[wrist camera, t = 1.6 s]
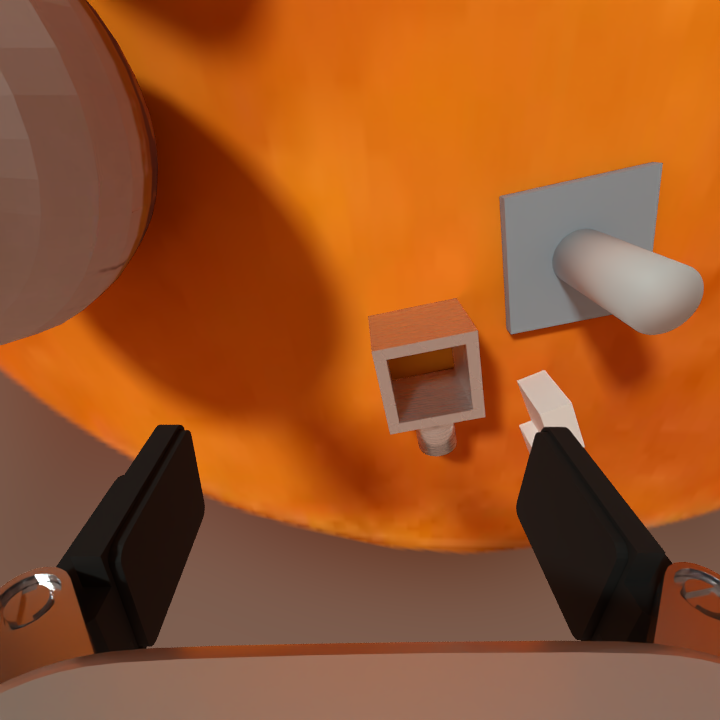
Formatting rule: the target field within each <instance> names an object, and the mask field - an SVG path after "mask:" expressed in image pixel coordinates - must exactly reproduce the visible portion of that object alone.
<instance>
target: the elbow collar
mask: <svg viewBox="0 0 720 720" xmlns="http://www.w3.org/2000/svg"><path fill="white" fill-rule="evenodd" d="M368 319H369V329H370V339H371V350H372V355H373V360H374V364H375V369H376V373H377V377H378V382H379V386H380V391H381V395H382V400H383V404H384V409H385V413H386V418H387V422H388V426H389V431H390V434H395V433H400V432H406V431H411V430H416V433H417V439H418V444H419V448H420V450H421V451H422V452H423V453H425V454H427V455H430V456H442V455H445V454H448V453H450V452H451V451H452V450H454V448H455V447H456V444H457V441H456V433H455V426H454V423H455V422H461V421H466V420H472V419H477V418H483V417H485V407H484V396H483V385H482V373H481V362H480V351H479V340H478V330H477V329H476V327H475V326H474V324H473V323H472V321H471V320H470V318H469V317H468V315H467V313H466V312H465V310H464V309H463V307H462V306H461V304H460V303H459V301H458V300H457V298H455V299H450V300H445V301H440V302H435V303H431V304H426V305H421V306H416V307H411V308H406V309H401V310H397V311H392V312H387V313H382V314H377V315H372V316H368ZM449 347H452V353H453V361H454V368H452V369H447V370H442V371H436V372H431V373H426V374H421V375H416V376H411V377H405V378H400V379H395V380H392V377H391V373H390V368H389V363H388V359H394V358H399V357H404V356H409V355H414V354H419V353H424V352H429V351H434V350H439V349H444V348H449Z"/></svg>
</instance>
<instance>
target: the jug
mask: <svg viewBox="0 0 720 720" xmlns="http://www.w3.org/2000/svg"><path fill="white" fill-rule="evenodd" d="M157 173H158V157H157V148H156V138H155V134H154V130H153V126H152V122H151V117H150V113H149V111H148V108H147V105H146V103H145V100H144V98H143V95H142V92H141V90H140V87H139V85H138V82H137V80H136V77H135V75H134V73H133V71H132V69H131V67H130V66H129V64H128V62H127V60H126V58H125V56H124V54H123V52H122V50H121V49H120V47H119V45H118V43H117V41H116V40H115V39H114V37H113V36H112V34H111V33H110V31H109V30H108V28H107V27H106V25H105V24H104V22H103V21H102V20H101V18H100V17H99V15H98V14H97V12H96V11H95V10H94V9H93V7H92V6H91V5H90V4H89V3H88V2H87V1H86V0H0V345H3V344H7V343H10V342H13V341H16V340H19V339H22V338H25V337H28V336H32V335H35V334H38V333H40V332H43V331H45V330H48V329H50V328H53V327H55V326H58V325H60V324H62V323H64V322H65V321H67V320H68V319H70V318H72V317H73V316H75V315H76V314H78V313H79V312H81V311H82V310H84V309H85V308H86V307H87V306H88V305H90V304H91V303H92V302H93V301H94V300H95V299H97V298H98V297H99V296H100V295H101V294H102V293H103V292H104V291H105V290H106V289H107V288H108V287H109V286H110V285H111V284H112V283H113V282H114V281H115V280H116V279H118V278H119V276H120V275H121V273H122V272H123V270H124V269H125V267H126V266H127V264H128V263H129V261H130V260H131V258H132V256H133V255H134V253H135V251H136V250H137V248H138V246H139V245H140V243H141V241H142V239H143V237H144V235H145V232H146V230H147V228H148V225H149V223H150V220H151V218H152V213H153V208H154V204H155V199H156V194H157Z"/></svg>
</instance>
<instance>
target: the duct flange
mask: <svg viewBox="0 0 720 720" xmlns="http://www.w3.org/2000/svg"><path fill="white" fill-rule="evenodd" d="M662 164H663V163H657V162H651V163H647V164H642V165H638V166H633V167H629V168H624V169H620V170H615V171H611V172H606V173H602V174H597V175H593V176H588V177H584V178H580V179H575V180H571V181H566V182H562V183H557V184H553V185H548V186H544V187H539V188H535V189H530V190H526V191H521V192H517V193H512V194H508V195H503V196H500V214H501V232H502V251H503V270H504V288H505V307H506V326H507V330H508V331H509V333H510V334H515V333H520V332H525V331H530V330H536V329H541V328H546V327H551V326H556V325H561V324H566V323H571V322H576V321H581V320H586V319H591V318H596V317H602V316H607V315H612V314H613V315H614V316H616V317H617V318H618V319H620V320H621V321H623V322H624V323H626V324H627V325H629V326H630V327H632V328H633V329H635V330H636V331H638V332H640V333H643V334H648V335H656V334H662V333H666V332H668V331H671V330H673V329H675V328H677V327H678V326H680V325H681V324H683V323H684V322H685V321H686V320H688V319H689V318H690V317H691V316H692V314H693V313H694V312H695V311H696V309H697V308H698V306H699V304H700V302H701V299H702V296H703V290H704V286H703V280H702V278H701V276H700V274H699V273H698V272H697V271H696V270H695V269H694V268H692V267H690V266H688V265H685V264H682V263H680V262H677V261H675V260H672V259H669V258H667V257H664V256H662V255H659V254H656V253H654V252H653V243H654V234H655V225H656V217H657V208H658V199H659V190H660V181H661V173H662Z"/></svg>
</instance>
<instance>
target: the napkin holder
mask: <svg viewBox="0 0 720 720" xmlns="http://www.w3.org/2000/svg"><path fill="white" fill-rule="evenodd" d="M517 382H518V385H519V388H520V391H521V393H522V396H523V399H524V402H525V404H526V407H527V410H528V413H529V415H530V418H531V421H529V422H526V423H524V424H521V425H519V427H520V430H521V432H522V435H523V437H524V440H525V443H526V445H527V448H528V450H529V453H530V452H531V448H532V444H533V440H534V437H535V434H536V433H537V432H541V430H542V429H543V427H567V428H568V429H569V430H570V431H571V432H572V434H573V435H574V436H575V437H576V439H577V440H578V441H579V443H580V444H581V445H582V446H583V447H585V446H584V442H583V439H582V436H581V432H580V429H579V426H578V422H577V419H576V416H575V412H574V409H573V406H572V403H571V401H570V400H569V399H568V398H567V397H566V395H565V394H564V393H563V392H562V391H561V389H560V388H559V387H558V386H557V385H556V383H555V382H554V381H553V380H552V379H551V377H550V376H549V375H548V374H547V373H546V371H545V370H543V371H540V372H538V373H535V374H533V375H530V376H528V377H525V378H523V379H520V380H518V381H517Z"/></svg>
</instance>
